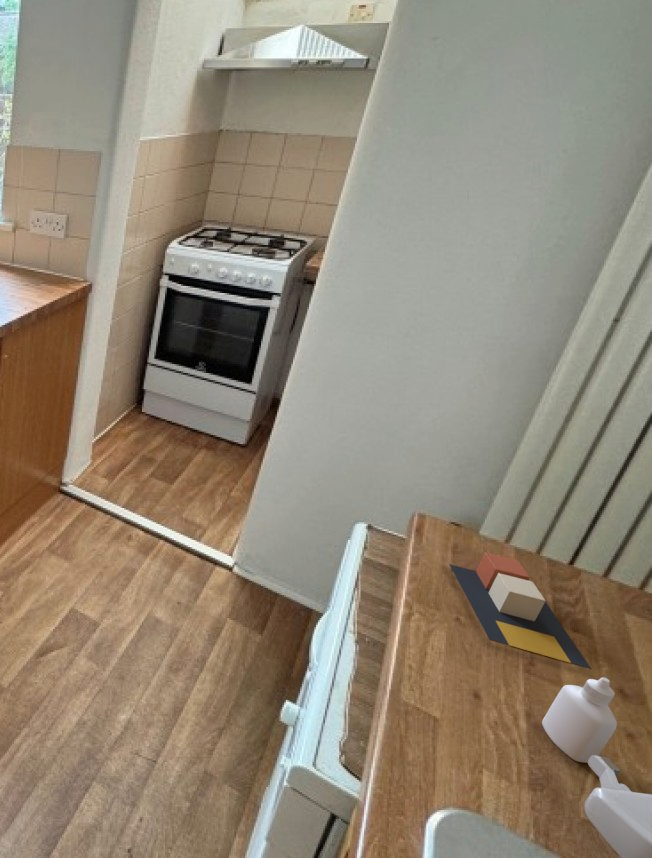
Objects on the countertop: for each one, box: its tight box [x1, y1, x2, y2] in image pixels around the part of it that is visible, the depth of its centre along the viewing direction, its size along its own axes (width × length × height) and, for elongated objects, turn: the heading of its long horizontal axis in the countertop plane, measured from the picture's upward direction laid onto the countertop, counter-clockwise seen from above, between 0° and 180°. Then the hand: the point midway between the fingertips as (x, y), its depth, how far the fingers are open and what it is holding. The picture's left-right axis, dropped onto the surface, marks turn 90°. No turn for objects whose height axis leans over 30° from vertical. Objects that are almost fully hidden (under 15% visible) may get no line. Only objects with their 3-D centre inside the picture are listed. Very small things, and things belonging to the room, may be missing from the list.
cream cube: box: [489, 573, 546, 621], centre depth 100 cm, size 4×4×4 cm
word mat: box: [448, 564, 592, 670], centre depth 100 cm, size 12×18×1 cm, turn 155°
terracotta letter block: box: [475, 551, 531, 590], centre depth 104 cm, size 4×4×4 cm
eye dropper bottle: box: [541, 676, 618, 764], centre depth 78 cm, size 4×6×12 cm
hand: (640, 764), depth 71 cm, fingers open, 8 cm apart
